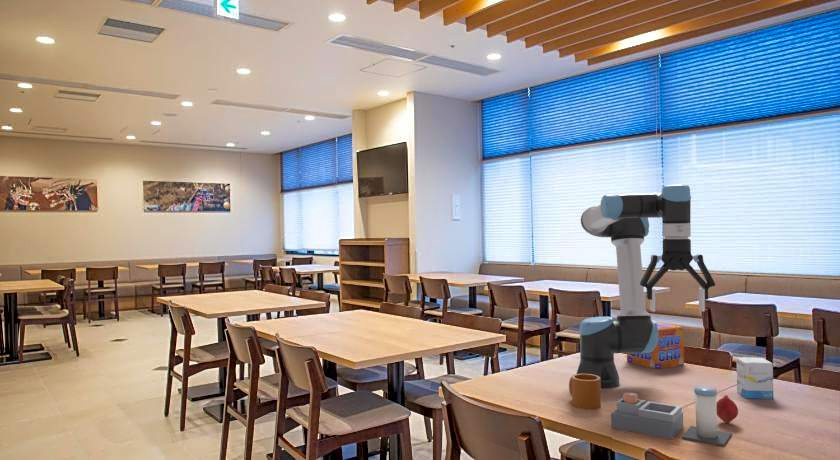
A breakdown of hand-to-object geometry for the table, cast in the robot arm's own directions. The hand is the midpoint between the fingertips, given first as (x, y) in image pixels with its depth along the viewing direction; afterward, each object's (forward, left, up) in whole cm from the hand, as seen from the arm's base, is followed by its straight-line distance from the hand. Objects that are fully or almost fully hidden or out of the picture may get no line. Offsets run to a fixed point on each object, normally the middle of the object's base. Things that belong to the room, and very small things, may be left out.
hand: (677, 310), depth 169 cm
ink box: (+14, +38, -32) cm, 51 cm away
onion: (+12, +3, -32) cm, 34 cm away
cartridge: (+10, -12, -31) cm, 34 cm away
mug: (-28, -2, -32) cm, 42 cm away
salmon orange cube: (-10, -13, -27) cm, 31 cm away
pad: (+10, -12, -31) cm, 35 cm away
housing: (-5, -13, -31) cm, 34 cm away
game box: (-26, +67, -32) cm, 79 cm away
